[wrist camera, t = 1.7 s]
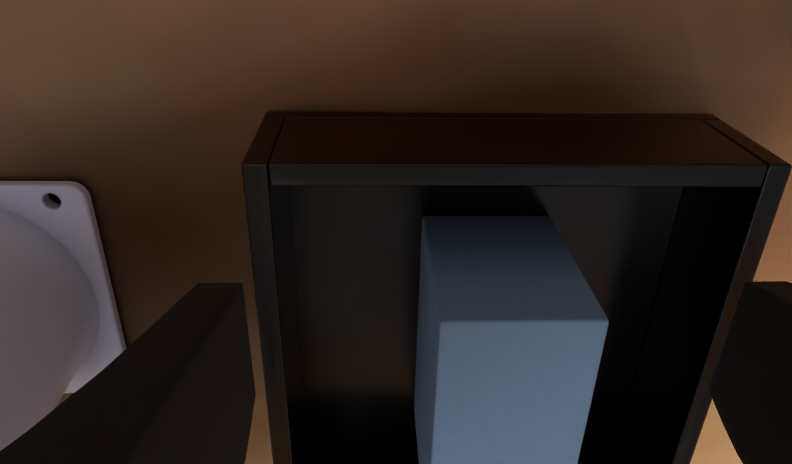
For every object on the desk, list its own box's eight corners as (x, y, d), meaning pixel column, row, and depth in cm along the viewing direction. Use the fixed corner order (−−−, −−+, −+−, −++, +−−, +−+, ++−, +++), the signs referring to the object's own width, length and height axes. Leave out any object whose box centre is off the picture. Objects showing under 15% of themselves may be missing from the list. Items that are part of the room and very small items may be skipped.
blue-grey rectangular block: (413, 408, 23) (425, 545, 18) (422, 214, 19) (440, 322, 14) (521, 406, 23) (561, 542, 18) (550, 214, 19) (610, 321, 15)
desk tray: (294, 459, 25) (282, 552, 21) (265, 110, 18) (240, 163, 14) (622, 453, 25) (663, 544, 22) (713, 113, 19) (794, 165, 15)
